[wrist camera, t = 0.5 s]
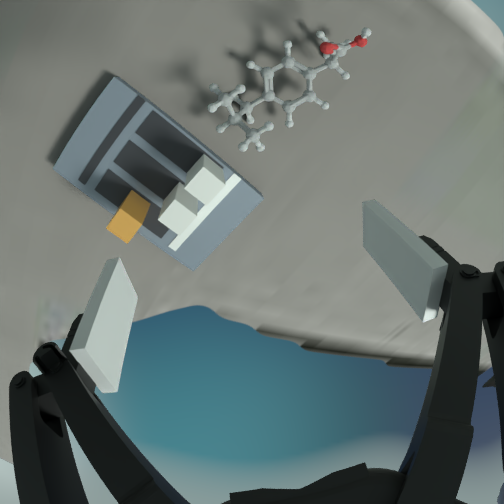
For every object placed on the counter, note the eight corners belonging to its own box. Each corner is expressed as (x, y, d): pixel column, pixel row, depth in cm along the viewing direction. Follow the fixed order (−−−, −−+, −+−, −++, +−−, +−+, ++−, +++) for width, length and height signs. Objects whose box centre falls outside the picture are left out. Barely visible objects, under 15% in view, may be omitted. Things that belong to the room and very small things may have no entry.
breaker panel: (58, 164, 35) (29, 185, 28) (118, 76, 31) (96, 76, 24) (193, 263, 46) (192, 300, 39) (261, 193, 42) (273, 219, 35)
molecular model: (234, 156, 39) (236, 176, 30) (194, 87, 35) (183, 86, 26) (366, 94, 36) (404, 98, 27) (333, 25, 31) (363, 8, 23)
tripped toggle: (118, 207, 37) (106, 228, 32) (131, 189, 37) (120, 208, 31) (137, 221, 39) (127, 243, 34) (150, 203, 38) (142, 224, 33)
